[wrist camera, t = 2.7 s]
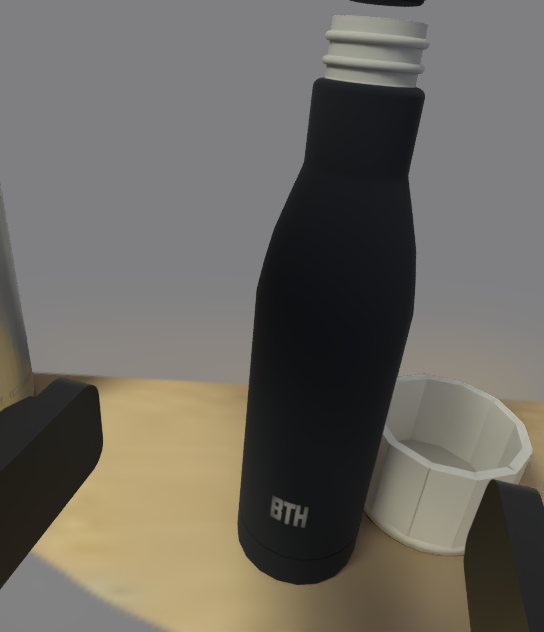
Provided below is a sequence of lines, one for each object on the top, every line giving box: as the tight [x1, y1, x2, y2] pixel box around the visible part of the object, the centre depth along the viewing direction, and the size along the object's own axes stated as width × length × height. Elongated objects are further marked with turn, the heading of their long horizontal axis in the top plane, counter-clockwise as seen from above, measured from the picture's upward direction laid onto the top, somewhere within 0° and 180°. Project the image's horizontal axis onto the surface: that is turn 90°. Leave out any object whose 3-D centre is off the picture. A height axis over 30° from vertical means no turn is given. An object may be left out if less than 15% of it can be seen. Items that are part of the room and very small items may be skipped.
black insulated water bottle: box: [238, 0, 429, 585], centre depth 20 cm, size 6×6×30 cm
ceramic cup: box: [364, 374, 533, 556], centre depth 29 cm, size 8×8×6 cm
